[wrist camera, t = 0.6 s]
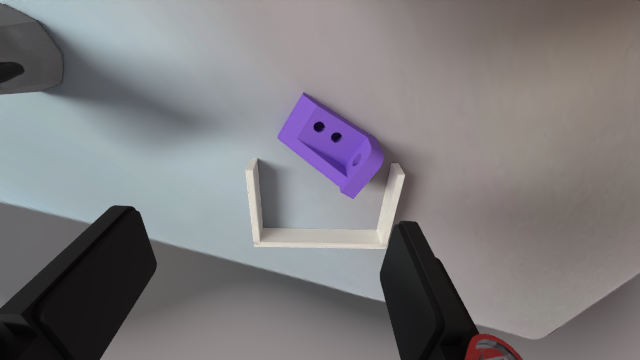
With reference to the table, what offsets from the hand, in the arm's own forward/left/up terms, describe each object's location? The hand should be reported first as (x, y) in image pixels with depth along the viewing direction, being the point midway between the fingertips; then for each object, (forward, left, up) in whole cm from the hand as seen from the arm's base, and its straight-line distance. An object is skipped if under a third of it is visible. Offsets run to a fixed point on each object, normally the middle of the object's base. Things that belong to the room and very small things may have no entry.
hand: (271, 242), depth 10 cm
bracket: (+7, +4, -28) cm, 29 cm away
